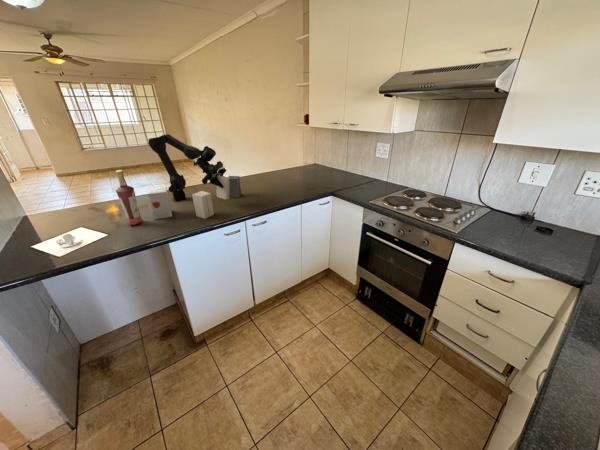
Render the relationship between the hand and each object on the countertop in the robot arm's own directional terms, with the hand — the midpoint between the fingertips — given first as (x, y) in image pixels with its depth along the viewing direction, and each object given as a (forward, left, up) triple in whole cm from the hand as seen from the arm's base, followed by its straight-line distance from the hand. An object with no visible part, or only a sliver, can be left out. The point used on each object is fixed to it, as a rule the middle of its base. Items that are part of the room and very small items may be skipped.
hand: (224, 186), depth 147 cm
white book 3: (-1, +1, -7) cm, 7 cm away
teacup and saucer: (-74, +6, -13) cm, 75 cm away
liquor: (-48, +7, -13) cm, 50 cm away
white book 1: (-18, -6, -12) cm, 22 cm away
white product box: (-34, +9, -13) cm, 37 cm away
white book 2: (-14, -5, -12) cm, 20 cm away
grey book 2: (+11, +11, -12) cm, 20 cm away
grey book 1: (+13, +14, -12) cm, 23 cm away
